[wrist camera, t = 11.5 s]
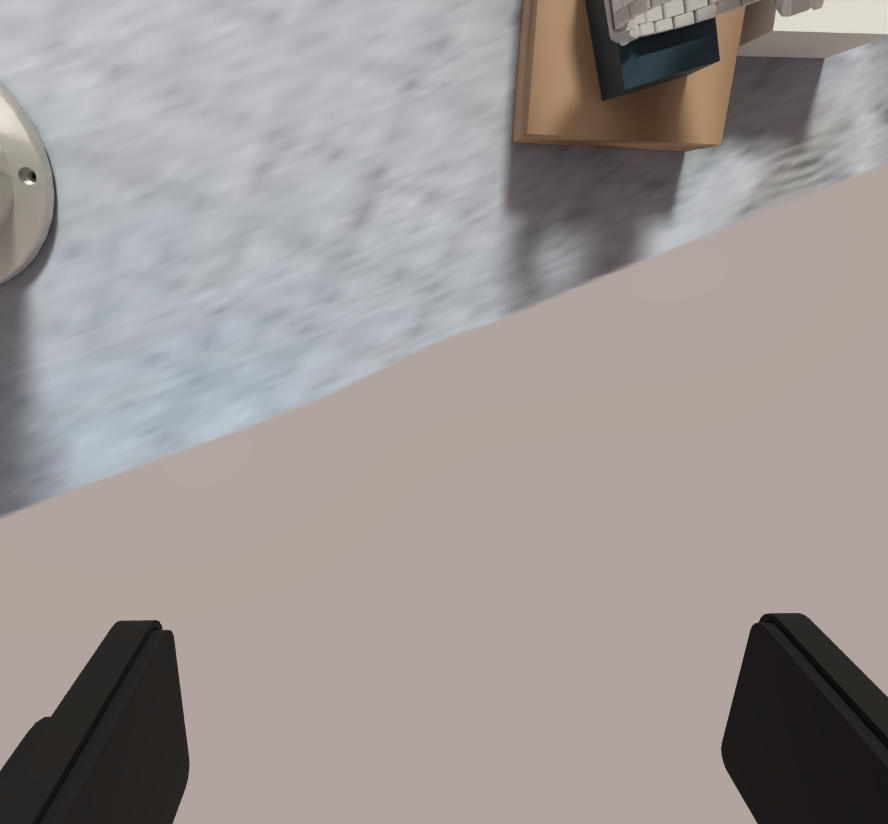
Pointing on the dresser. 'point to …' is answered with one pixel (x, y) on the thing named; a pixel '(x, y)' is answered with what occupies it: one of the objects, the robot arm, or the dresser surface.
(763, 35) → the off-white block
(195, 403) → the dresser surface
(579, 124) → the walnut block
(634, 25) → the watch
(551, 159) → the dresser surface
